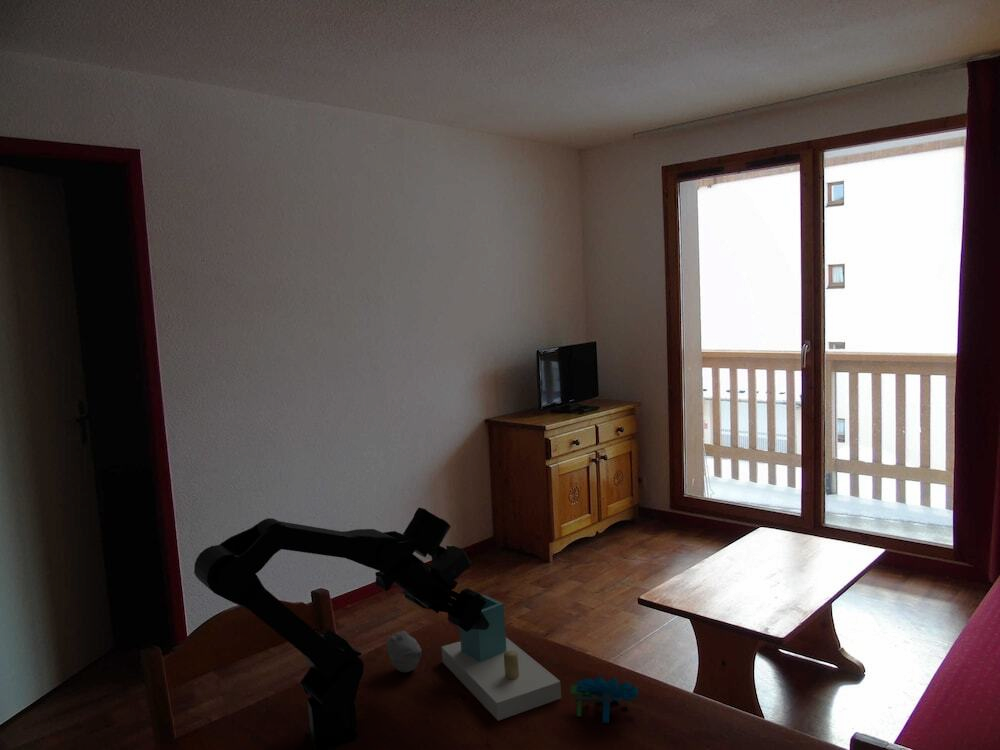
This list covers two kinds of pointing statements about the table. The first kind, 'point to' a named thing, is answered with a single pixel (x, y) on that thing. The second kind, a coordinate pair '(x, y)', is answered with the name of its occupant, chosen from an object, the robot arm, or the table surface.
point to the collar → (486, 633)
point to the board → (503, 679)
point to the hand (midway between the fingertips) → (472, 619)
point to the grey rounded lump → (403, 651)
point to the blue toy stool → (602, 693)
